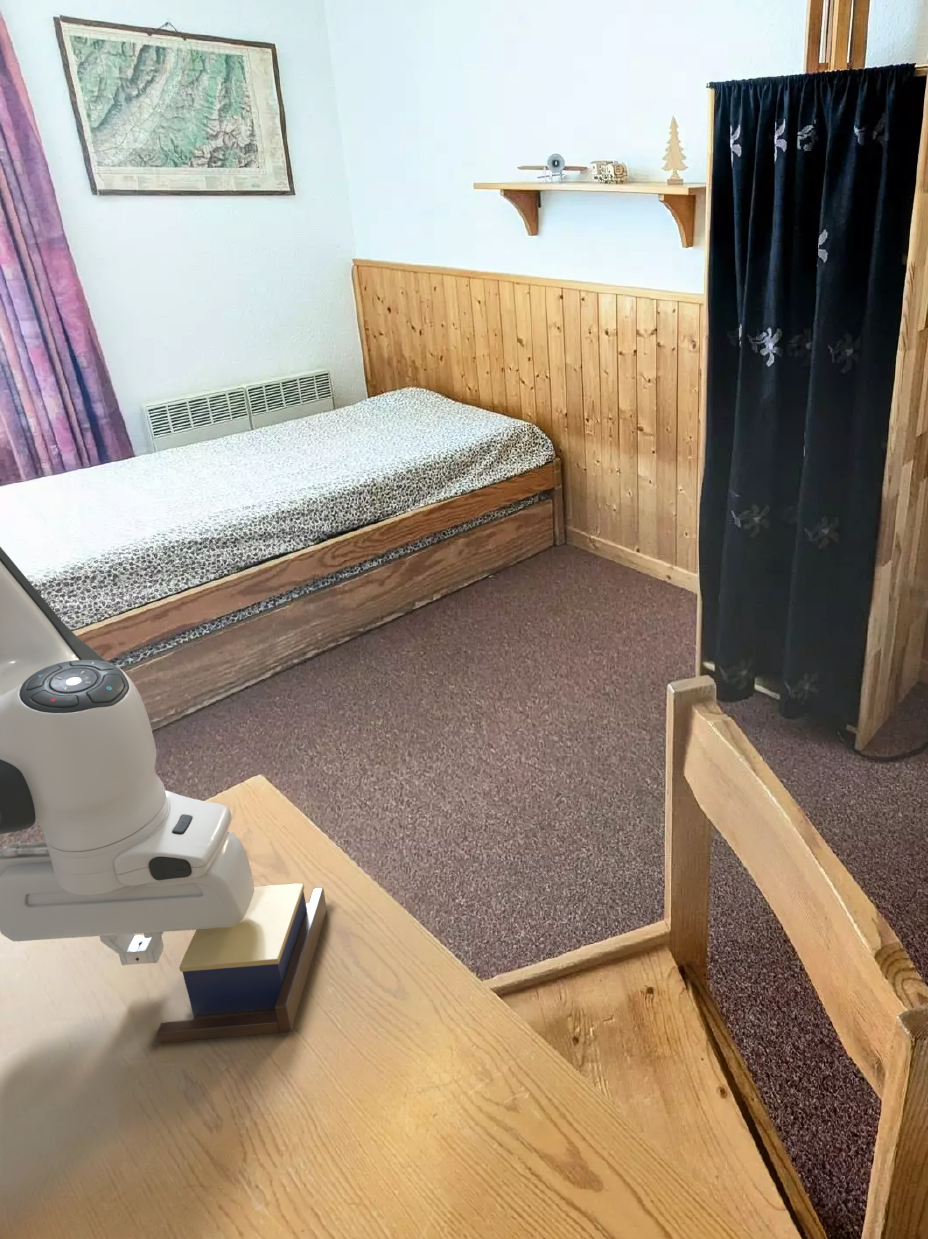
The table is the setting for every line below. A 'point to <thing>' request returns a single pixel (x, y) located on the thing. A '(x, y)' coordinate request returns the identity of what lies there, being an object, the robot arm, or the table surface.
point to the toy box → (245, 954)
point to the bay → (286, 998)
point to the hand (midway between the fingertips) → (143, 957)
